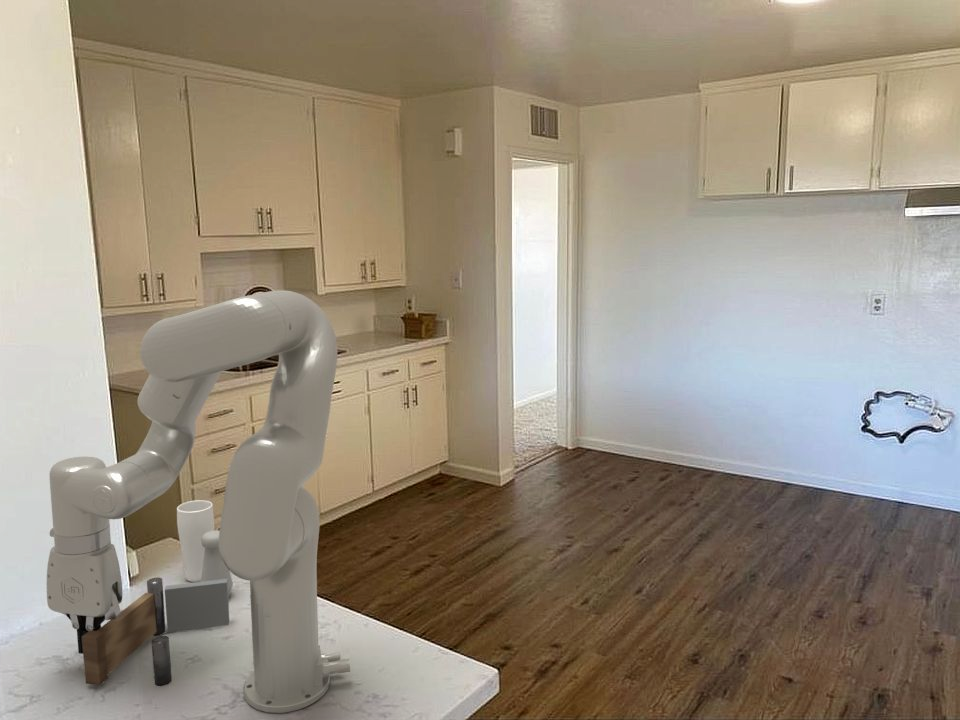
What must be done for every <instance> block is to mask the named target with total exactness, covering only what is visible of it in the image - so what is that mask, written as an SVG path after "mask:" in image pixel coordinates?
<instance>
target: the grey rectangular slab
mask: <svg viewBox="0 0 960 720" xmlns="http://www.w3.org/2000/svg"><path fill="white" fill-rule="evenodd" d="M164 597H165V599H164V600H165V601H164V603H165V611H166V613H165V614H166V616H165V617H166V631H167V634H170V633H179V632H187V631H193V630H194V631H195V630H201V629H209V628H216V627H224V626H229V625H230V609H229V608H230V607H229V596H228V585H227V579H220V580H211V581H203V582H201V581H200V582H187V583H180V584H179V583H178V584H170V585H165V588H164Z"/></svg>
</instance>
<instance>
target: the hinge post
mask: <svg viewBox="0 0 960 720" xmlns="http://www.w3.org/2000/svg"><path fill="white" fill-rule="evenodd" d="M163 585H164V584H163V578H162V577H151V578H150V579H148V580H147V581H146V589H147V593H153V594H154V603H155V617H156V631H157V632H156V633H155V634H154V635H152V636H151V637H158V636H162V635H164V634H165V633H166V631H167V626H166V616H165V614H166V613H165V601H164V600H165V599H164V588H163Z"/></svg>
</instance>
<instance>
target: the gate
mask: <svg viewBox="0 0 960 720" xmlns="http://www.w3.org/2000/svg"><path fill="white" fill-rule="evenodd" d="M156 632H157V631H156V617H155V603H154V594H153V593H148V592H145V593H144V594H142V595H141V596H140V597H138V598H137V599H136V600H135V601H133V602H132V603H130V604H129V605H128V606H126V607H125V608H124V609H123V610H121V615H120V616H118V617H117V618H116V619H113V620H108V621H107V622H106V623H104V624H103V625H101V628H100V629H98V630H97V631H92V630H90V631H88V632H87V633H86V634H84V635H83V636H82V647H83V654H82V655H83V657H82V658H83V666H84V667H83V669H84V679H85V684H86V685H93V686H101V685H103V683H105V682H106V681H107V680H108V679H109V674H110V673H111V672H113V671H114V670H115V669H117V667H119V665H121V664H122V663H123V662H124V661H125V660H127V659H128V658H129V657H130V656H131V655H132V654H133V653H135V651H137V650H138V649H139V648H140V647H141V646H142V645H144V644H145V643H146V642H147V641H148V640H149V639H150V638H151V637H153V636H152V635H154V634H155V633H156Z"/></svg>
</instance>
